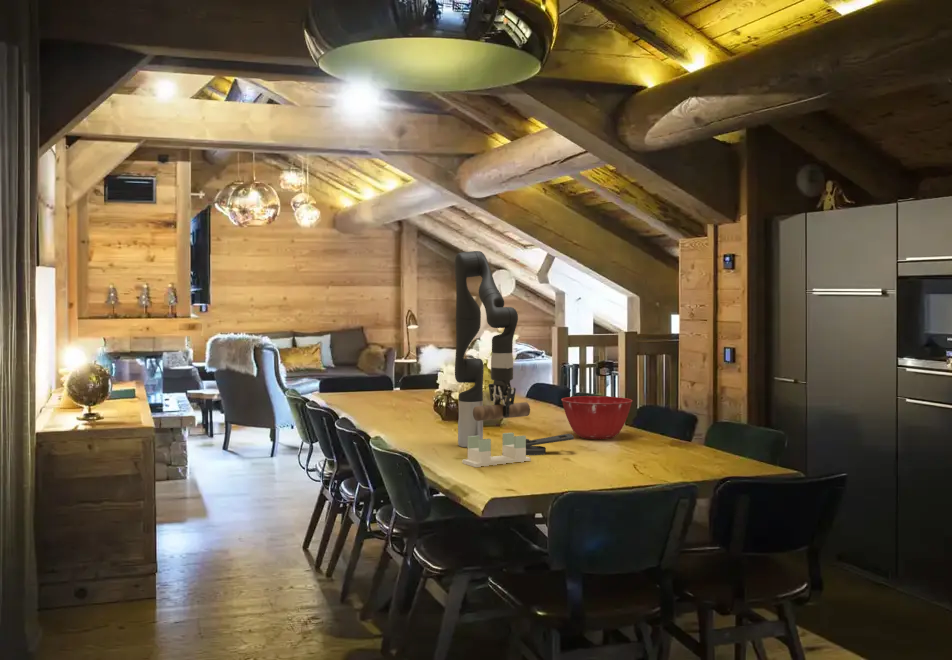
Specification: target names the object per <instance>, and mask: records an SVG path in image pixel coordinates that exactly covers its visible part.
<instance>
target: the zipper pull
mask: <svg viewBox="0 0 952 660" xmlns="http://www.w3.org/2000/svg"><path fill="white" fill-rule="evenodd" d="M574 439H575V436H574V435H573V434H571V433H565V434H558V435H555V436H554V435H553V436H548V437H542V438H536V439H529V438H526V455H529V456H544V455H547V448H546V447H545V446H542V445H544V444H545V445H546V444H552V443H558V442H559V443H560V442H565V441H571V440H574Z"/></svg>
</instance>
